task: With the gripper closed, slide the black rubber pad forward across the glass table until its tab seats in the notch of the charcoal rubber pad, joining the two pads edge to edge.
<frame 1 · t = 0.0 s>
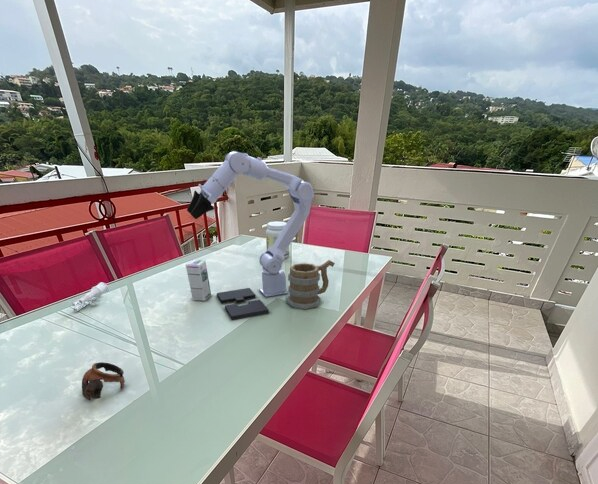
hand: (191, 214, 111), 32 cm above the table, tool tilted 50°, fingers open, 7 cm apart
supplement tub: (278, 256, 180), on the table
toy cannon: (92, 305, 128), on the table
brown looped strap: (104, 392, 85), on the table
black pad: (236, 297, 135), on the table
tankard: (311, 300, 133), on the table
syrup box: (201, 298, 134), on the table
charcoal pad: (246, 311, 125), on the table
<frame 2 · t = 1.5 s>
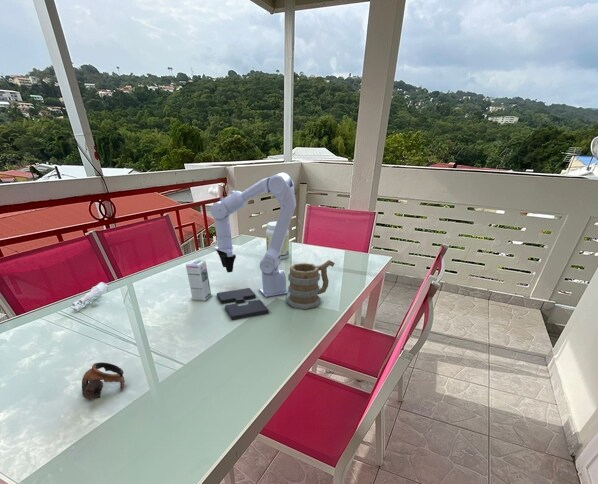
hand: (227, 269, 137), 8 cm above the table, tool pointing down, fingers open, 6 cm apart
nothing on the table moved.
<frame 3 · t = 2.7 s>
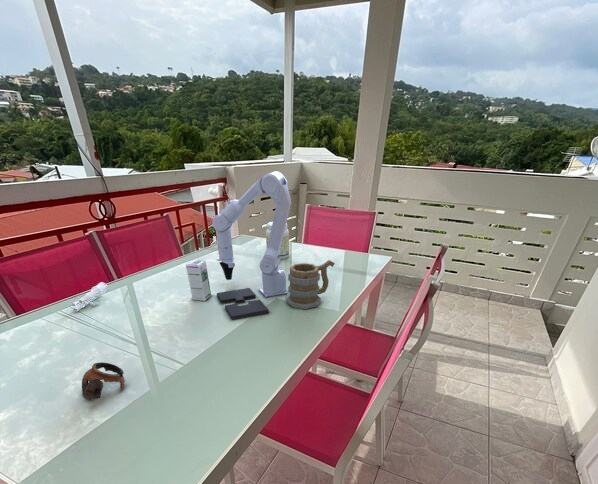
hand: (228, 279, 140), 4 cm above the table, tool pointing down, fingers closed
nothing on the table moved.
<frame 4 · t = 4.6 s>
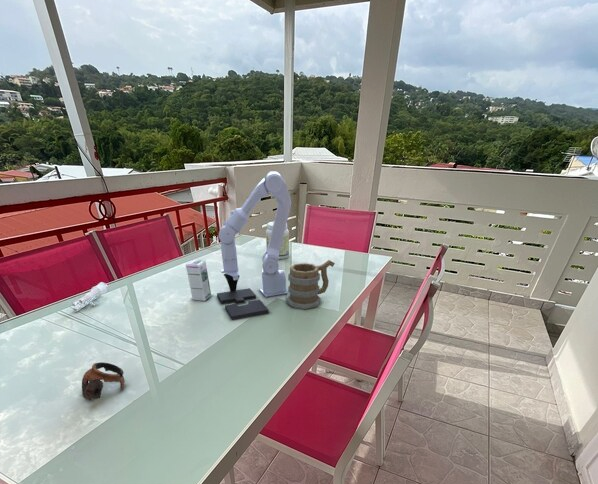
hand: (233, 291, 137), 1 cm above the table, tool pointing down, fingers closed
black pad: (236, 297, 134), on the table, touching gripper
everything else where it was.
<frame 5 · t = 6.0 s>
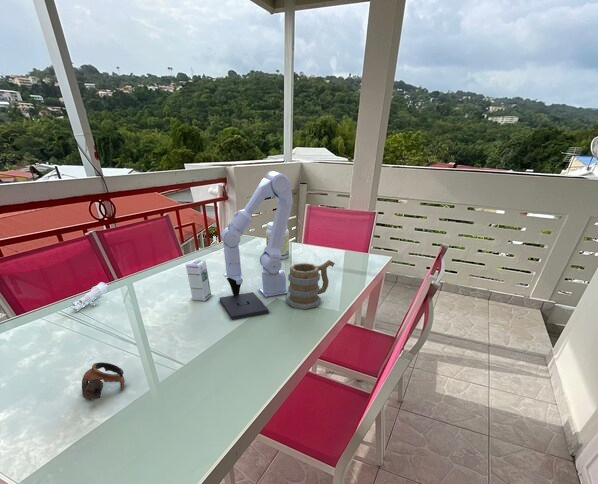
hand: (236, 295, 134), 1 cm above the table, tool pointing down, fingers closed
black pad: (239, 301, 131), on the table, touching charcoal pad, gripper
everything else where it was.
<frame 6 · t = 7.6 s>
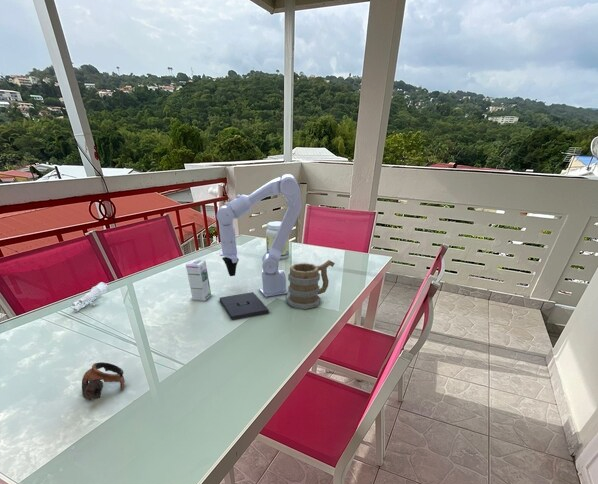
hand: (232, 275, 134), 8 cm above the table, tool pointing down, fingers closed
black pad: (239, 301, 131), on the table, touching charcoal pad
everything else where it was.
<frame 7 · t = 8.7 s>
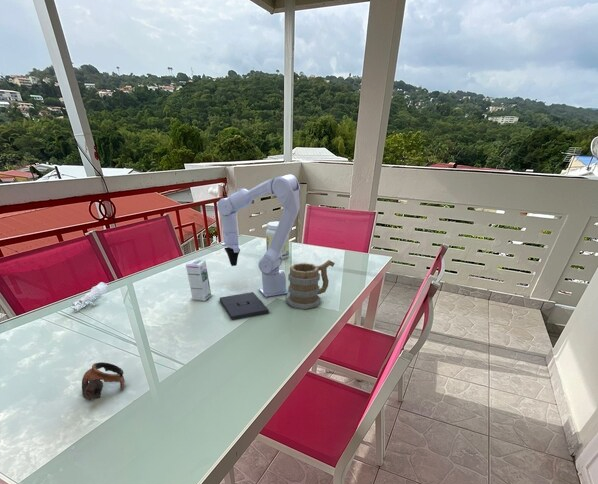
hand: (233, 265, 139), 9 cm above the table, tool pointing down, fingers closed
nothing on the table moved.
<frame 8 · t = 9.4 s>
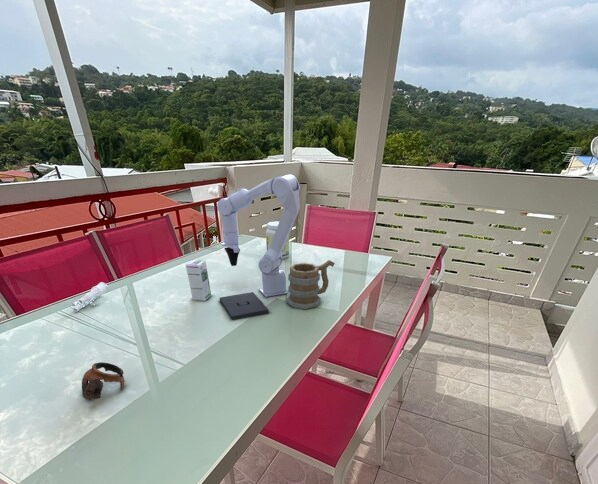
hand: (233, 265, 139), 9 cm above the table, tool pointing down, fingers closed
nothing on the table moved.
at the end: black pad 0.1 cm from the target spot on the table beside the charcoal pad, on the table; black pad moved 5.0 cm from its start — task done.
